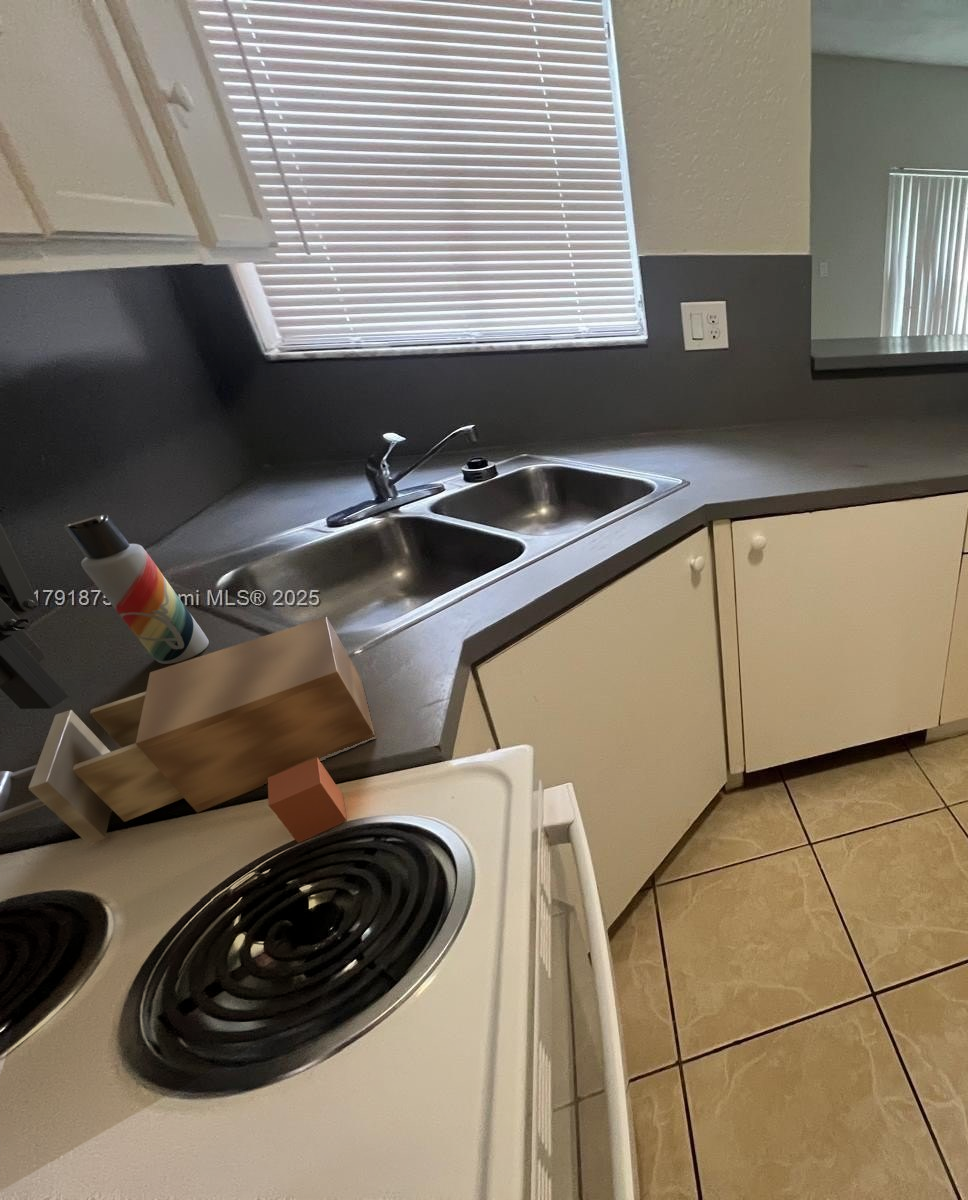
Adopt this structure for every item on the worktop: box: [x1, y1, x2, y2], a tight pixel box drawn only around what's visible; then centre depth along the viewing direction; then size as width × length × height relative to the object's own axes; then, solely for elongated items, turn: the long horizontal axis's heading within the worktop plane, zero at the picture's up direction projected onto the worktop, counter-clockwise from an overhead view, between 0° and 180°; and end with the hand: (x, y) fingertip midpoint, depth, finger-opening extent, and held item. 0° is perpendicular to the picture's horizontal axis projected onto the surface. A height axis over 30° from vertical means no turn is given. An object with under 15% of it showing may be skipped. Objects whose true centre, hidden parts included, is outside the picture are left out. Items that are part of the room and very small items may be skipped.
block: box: [267, 758, 348, 844], centre depth 59 cm, size 4×4×6 cm
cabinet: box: [136, 616, 376, 814], centre depth 67 cm, size 16×13×10 cm
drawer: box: [0, 691, 184, 845], centre depth 62 cm, size 20×12×8 cm, turn 127°
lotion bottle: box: [64, 513, 210, 665], centre depth 79 cm, size 6×6×20 cm
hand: (45, 702), depth 52 cm, fingers closed
